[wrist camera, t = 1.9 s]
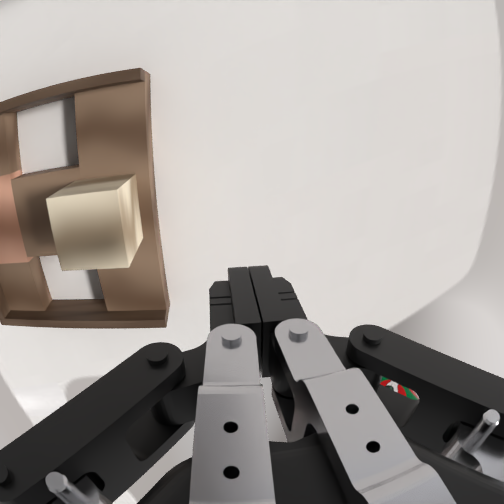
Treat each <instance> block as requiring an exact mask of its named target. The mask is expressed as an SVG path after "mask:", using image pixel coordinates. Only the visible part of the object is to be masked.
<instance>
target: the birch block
mask: <svg viewBox="0 0 504 504" xmlns="http://www.w3.org/2000/svg"><path fill="white" fill-rule="evenodd" d="M46 202H47V208H48V213H49V218H50V223H51V228H52V233H53V237H54V242H55V246H56V250H57V254H58V258H59V262H60V266H61V269H62V271H69V270H91V269H111V268H129V266H130V264H131V262H132V260H133V258H134V256H135V254H136V252H137V250H138V247H139V245H140V243H141V241H142V239H143V232H142V225H141V217H140V209H139V200H138V190H137V180H136V174H128V175H118V176H110V177H101V178H93V179H86V180H78V181H74V182H73V183H71V184H69V185H67V186H66V187H64V188H62V189H61V190H59V191H57V192H56V193H54V194H53V195H51V196H49V197H48V198H46Z"/></svg>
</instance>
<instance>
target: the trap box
mask: <svg viewBox="0 0 504 504" xmlns="http://www.w3.org/2000/svg"><path fill="white" fill-rule="evenodd" d="M71 97H75V119H76V135H77V148H78V158H79V164H78V165H72V166H66V167H60V168H54V169H49V170H43V171H38V172H33V173H28V174H23V175H22V169H21V161H20V152H19V141H18V128H17V112H18V111H22V110H25V109H28V108H32V107H35V106H39V105H42V104H46V103H50V102H54V101H58V100H62V99H66V98H71ZM128 174H136V180H137V190H138V200H139V209H140V217H141V225H142V232H143V239H142V241H141V243H140V245H139V247H138V250H137V252H136V254H135V256H134V258H133V260H132V262H131V264H130V266H129V268H111V269H97V272H98V276H99V280H100V284H101V288H102V292H103V296H104V299H90V300H52V298H51V295H50V292H49V289H48V286H47V282H46V279H45V276H44V273H43V269H42V266H41V262H40V258H39V256H51V255H58V254H57V250H56V246H55V242H54V237H53V233H52V228H51V223H50V218H49V213H48V208H47V202H46V198H48V197H49V196H51V195H53V194H54V193H56V192H57V191H59V190H61V189H62V188H64V187H66V186H67V185H69V184H71V183H73V182H74V181H78V180H86V179H93V178H101V177H110V176H118V175H128ZM169 307H170V301H169V295H168V289H167V282H166V275H165V268H164V261H163V254H162V246H161V237H160V229H159V220H158V210H157V200H156V189H155V177H154V163H153V148H152V128H151V99H150V74H149V73H148V72H146V71H145V70H143V69H141V68H136V69H129V70H123V71H117V72H111V73H105V74H100V75H95V76H90V77H85V78H81V79H77V80H72V81H68V82H64V83H60V84H56V85H53V86H49V87H46V88H42V89H39V90H35V91H32V92H29V93H26V94H23V95H20V96H17V97H14V98H11V99H8V100H5V101H2V102H0V322H1V324H2V325H12V326H30V327H53V328H164V327H166V326H167V320H168V313H169Z"/></svg>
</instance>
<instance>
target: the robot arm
mask: <svg viewBox="0 0 504 504" xmlns="http://www.w3.org/2000/svg"><path fill="white" fill-rule="evenodd" d="M209 295H210V333H209V335H208V337H207V341H206V342H205V343H204V344H202V345H201V346H199V347H197V348H195V349H192V350H188V351H185V352H181V350H180V349H179V348H178V347H177V346H175V345H173V344H170V343H164V342H158V343H152V344H149V345H146V346H144V347H143V348H141V349H140V350H138V351H137V352H136V353H134V354H133V355H131V356H130V357H129V358H127V359H126V360H125V361H123V362H122V363H121V364H119V365H118V366H116V367H115V368H114V369H112V370H111V371H110V372H108V373H107V374H106V375H104V376H103V377H101V378H100V379H99V380H97V381H96V382H95V383H93V384H92V385H90V386H89V387H88V388H86V389H85V390H84V391H82V392H81V393H79V394H78V395H77V396H75V397H74V398H73V399H71V400H70V401H68V402H67V403H66V404H64V405H63V406H61V407H60V408H59V409H57V410H56V411H55V412H53V413H52V414H50V415H49V416H48V417H46V418H45V419H43V420H42V421H41V422H39V423H38V424H36V425H35V426H34V427H32V428H31V429H29V430H28V431H27V432H25V433H24V434H22V435H21V436H20V437H18V438H17V439H15V440H14V441H13V442H11V443H10V444H8V445H7V446H5V447H4V448H3V449H1V450H0V504H112V503H113V502H114V501H115V500H116V499H117V498H118V497H119V496H121V495H122V494H123V493H124V492H125V491H126V490H127V489H128V488H129V487H131V486H132V485H133V484H134V483H135V482H136V481H137V480H138V479H139V478H140V477H141V476H142V475H144V474H145V473H146V472H147V471H148V470H149V469H150V468H151V467H152V466H153V465H154V464H155V463H156V462H157V461H158V460H159V459H160V458H161V457H162V456H164V454H166V453H167V452H168V451H169V449H171V448H172V446H174V445H175V444H176V443H177V442H178V441H179V440H180V439H181V438H182V437H183V436H184V435H185V434H186V433H187V432H188V430H190V429H191V427H192V426H193V425H194V423H195V431H194V443H193V456H192V458H189V459H187V460H185V461H183V462H181V463H180V464H178V465H176V466H175V467H173V468H172V469H171V470H170V471H168V472H167V473H166V474H165V475H164V476H163V477H162V478H161V479H160V480H159V481H158V482H157V483H156V484H155V486H153V488H152V489H151V490H150V491H149V492H148V493H147V494H146V495H145V496H144V497H143V498H142V499H141V500H140V501H139V502H138V503H137V504H504V379H503V378H501V377H499V376H496V375H494V374H491V373H489V372H486V371H484V370H481V369H479V368H477V367H474V366H471V365H469V364H467V363H464V362H462V361H460V360H457V359H455V358H452V357H450V356H447V355H445V354H443V353H441V352H438V351H436V350H433V349H431V348H429V347H426V346H424V345H422V344H419V343H417V342H414V341H412V340H410V339H407V338H405V337H403V336H400V335H398V334H395V333H393V332H391V331H389V330H386V329H384V328H382V327H379V326H375V325H360V326H357V327H356V328H354V329H353V330H352V331H351V332H350V335H349V338H347V337H335V336H328V335H325V334H323V332H322V330H321V329H320V327H319V326H318V325H317V324H315V323H314V322H312V321H309V320H307V317H306V315H305V313H304V311H303V309H302V307H301V304H300V302H299V300H298V299H297V296H296V294H295V293H294V289H293V287H292V285H291V283H289V282H288V281H287V280H285V279H284V278H283V277H277V278H272V275H271V273H270V270H269V267H268V266H250V267H248V268H247V267H235V268H228V281H216V282H214V283H213V285H212V286H211V288H210V289H209ZM260 369H261V374H262V377H271V381H272V397H273V401H274V404H275V406H276V409H277V412H278V415H279V418H280V421H281V424H282V427H283V429H284V432H285V435H286V438H287V443H286V442H271V441H269V439H268V430H267V420H266V411H265V401H264V392H263V385H262V384H261V383H260ZM382 377H385V378H387V379H389V380H391V381H393V382H395V383H398V384H400V385H402V386H404V387H406V388H408V389H410V390H413V391H414V392H416V393H417V395H418V396H419V399H418V400H413V399H410V398H408V397H406V396H404V395H402V394H400V393H397V392H395V391H393V390H391V389H389V388H387V387H385V386H383V385H381V384H380V383H381V380H382Z"/></svg>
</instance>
